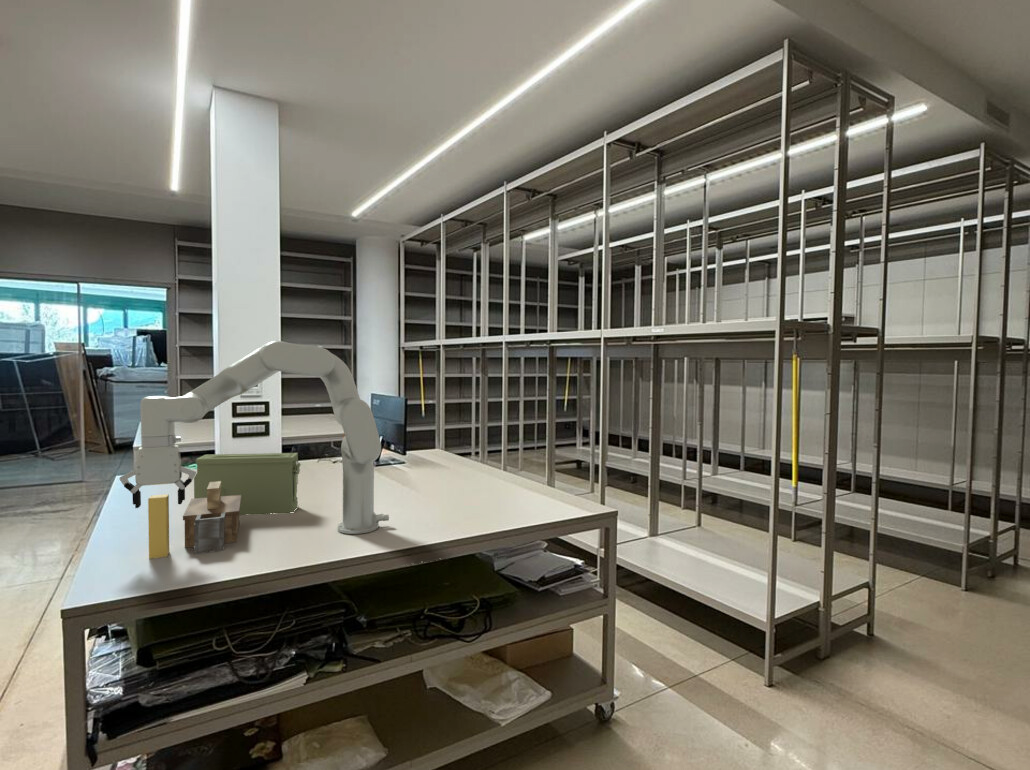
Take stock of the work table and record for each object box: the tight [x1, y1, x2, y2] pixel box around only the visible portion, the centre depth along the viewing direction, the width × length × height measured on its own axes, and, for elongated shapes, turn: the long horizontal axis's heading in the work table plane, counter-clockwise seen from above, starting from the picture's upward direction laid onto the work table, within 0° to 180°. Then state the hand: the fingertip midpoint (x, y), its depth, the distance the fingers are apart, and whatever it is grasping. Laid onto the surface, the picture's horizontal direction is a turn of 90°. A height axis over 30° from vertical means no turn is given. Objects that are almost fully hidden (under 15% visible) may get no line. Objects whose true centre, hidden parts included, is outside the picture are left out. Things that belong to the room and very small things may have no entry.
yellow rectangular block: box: [147, 493, 170, 560], centre depth 146 cm, size 4×4×16 cm
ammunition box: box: [193, 452, 302, 516], centre depth 190 cm, size 10×33×20 cm, turn 102°
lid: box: [182, 481, 241, 525], centre depth 161 cm, size 14×27×8 cm, turn 25°
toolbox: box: [184, 512, 241, 554], centre depth 161 cm, size 13×26×8 cm, turn 25°
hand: (159, 505), depth 146 cm, fingers open, 9 cm apart
